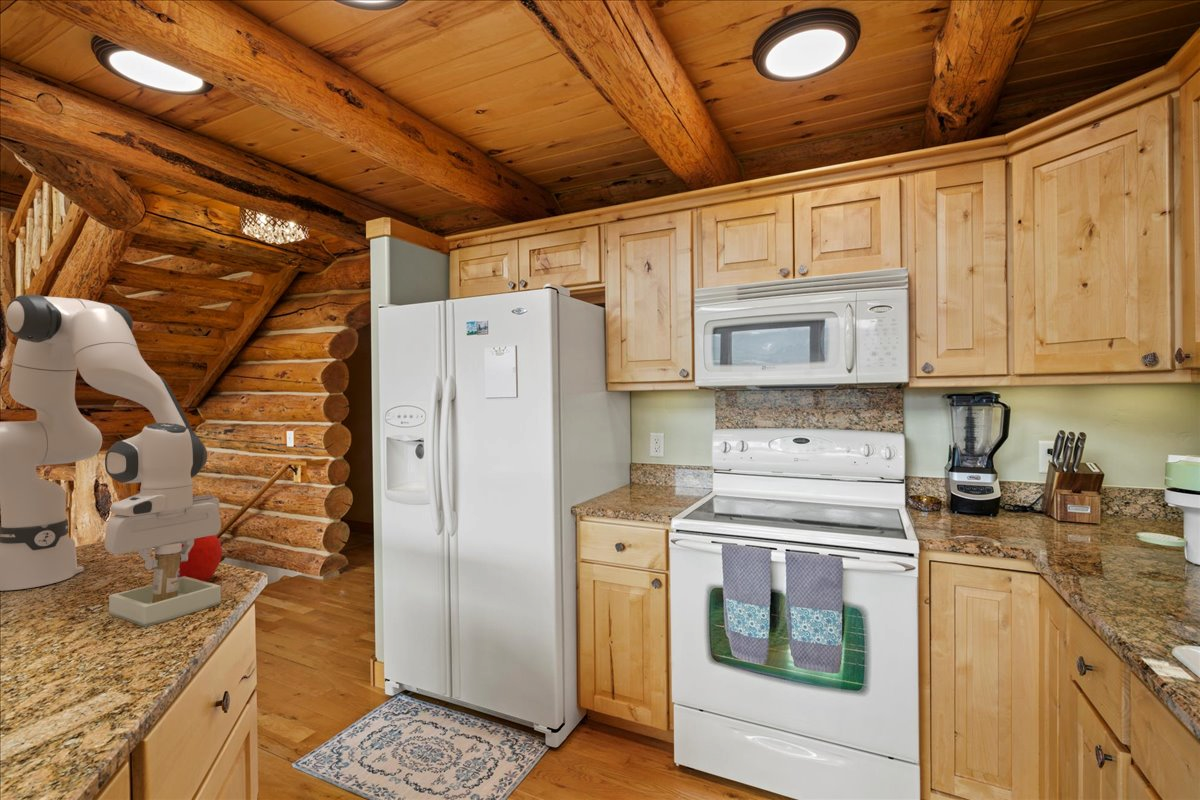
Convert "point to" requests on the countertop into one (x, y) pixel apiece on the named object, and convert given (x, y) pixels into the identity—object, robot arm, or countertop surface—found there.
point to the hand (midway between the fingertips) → (167, 564)
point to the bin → (164, 602)
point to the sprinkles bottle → (166, 572)
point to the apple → (202, 558)
